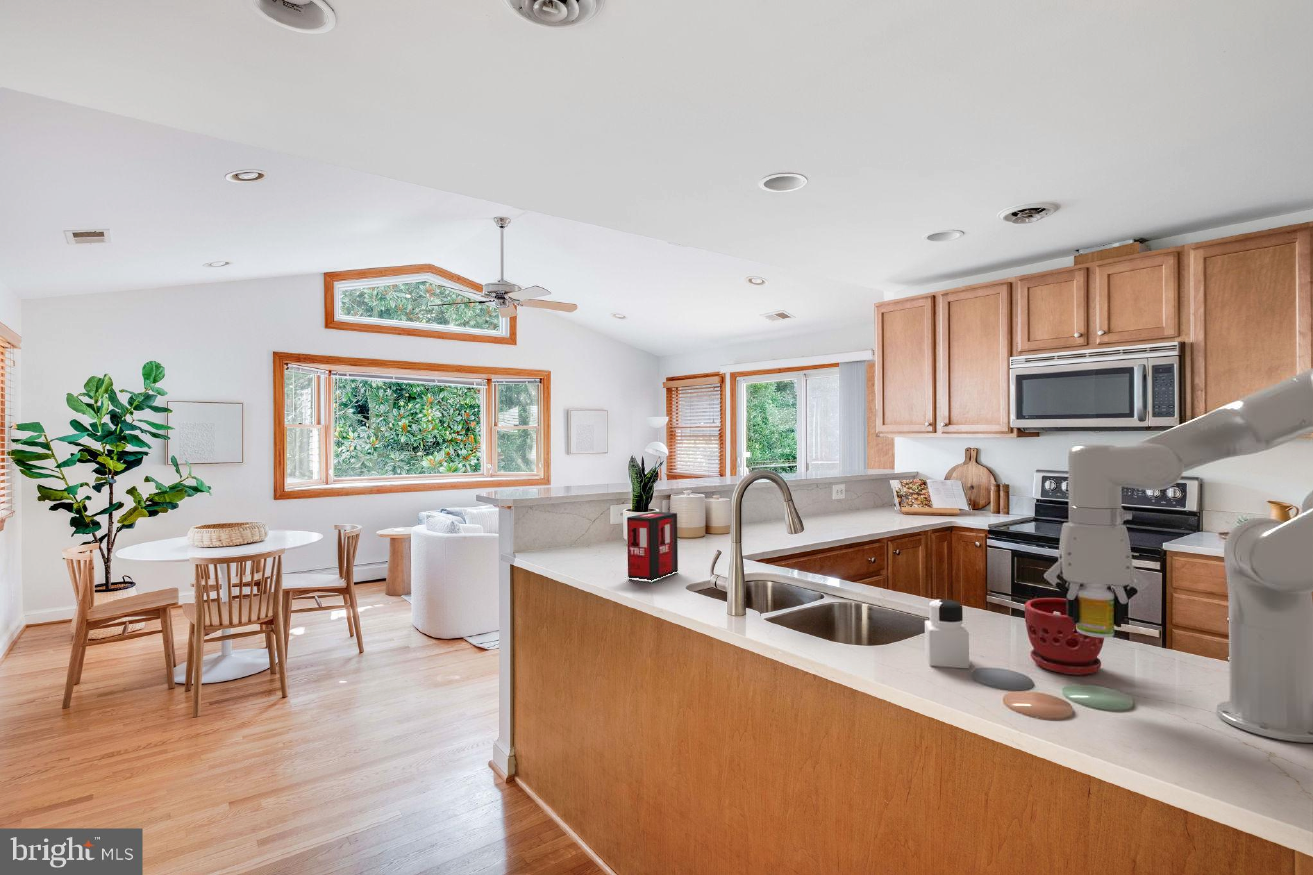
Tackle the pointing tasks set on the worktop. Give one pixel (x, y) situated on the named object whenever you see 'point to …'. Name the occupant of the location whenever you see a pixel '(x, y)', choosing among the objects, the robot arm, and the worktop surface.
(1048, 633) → the plant pot
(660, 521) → the cleaning product box
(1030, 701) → the peach coaster
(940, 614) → the medicine bottle
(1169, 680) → the worktop surface
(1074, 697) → the sage green coaster
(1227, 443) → the robot arm
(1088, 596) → the supplement bottle
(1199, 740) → the worktop surface
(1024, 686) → the slate grey coaster
